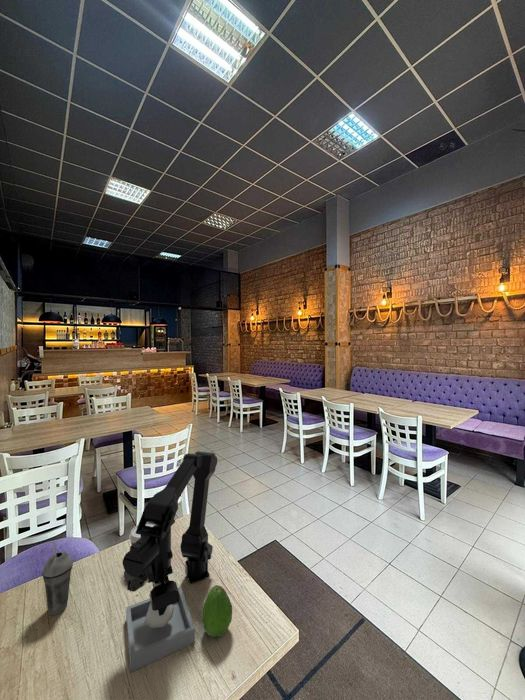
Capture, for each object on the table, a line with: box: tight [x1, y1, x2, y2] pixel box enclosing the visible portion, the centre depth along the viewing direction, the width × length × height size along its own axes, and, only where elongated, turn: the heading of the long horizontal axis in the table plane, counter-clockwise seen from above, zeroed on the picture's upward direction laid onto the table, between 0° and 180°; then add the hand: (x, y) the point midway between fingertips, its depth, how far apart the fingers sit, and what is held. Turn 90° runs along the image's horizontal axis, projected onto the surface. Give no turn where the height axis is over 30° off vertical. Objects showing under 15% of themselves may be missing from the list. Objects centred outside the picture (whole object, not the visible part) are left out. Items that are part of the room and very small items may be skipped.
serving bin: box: [125, 586, 196, 673], centre depth 79 cm, size 15×15×4 cm
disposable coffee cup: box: [129, 523, 155, 546], centre depth 102 cm, size 10×10×12 cm
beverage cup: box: [41, 540, 74, 616], centre depth 85 cm, size 7×7×20 cm
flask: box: [144, 580, 174, 628], centre depth 79 cm, size 7×7×10 cm
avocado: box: [201, 585, 233, 638], centre depth 78 cm, size 8×8×12 cm
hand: (159, 606), depth 79 cm, fingers closed on flask, 5 cm apart
